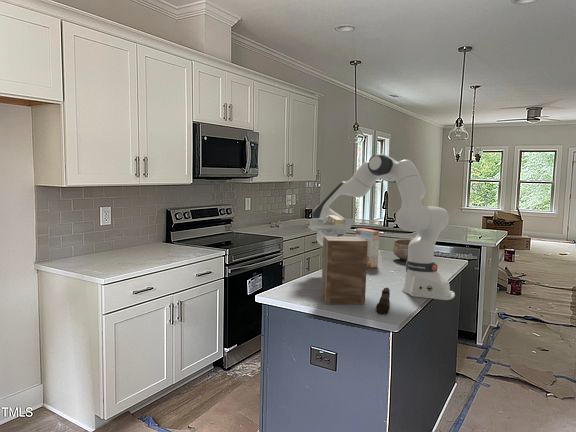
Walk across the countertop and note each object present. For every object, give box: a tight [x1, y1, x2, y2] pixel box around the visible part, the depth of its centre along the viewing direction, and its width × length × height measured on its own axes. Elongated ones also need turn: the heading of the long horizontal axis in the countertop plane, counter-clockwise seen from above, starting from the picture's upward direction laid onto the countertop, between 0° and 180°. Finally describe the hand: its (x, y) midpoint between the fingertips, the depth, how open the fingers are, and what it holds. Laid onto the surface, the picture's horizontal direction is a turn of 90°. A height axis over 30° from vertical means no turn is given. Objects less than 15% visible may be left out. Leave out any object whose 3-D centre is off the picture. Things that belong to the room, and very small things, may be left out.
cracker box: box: [355, 227, 380, 269], centre depth 255 cm, size 14×6×21 cm, turn 32°
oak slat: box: [328, 215, 343, 225], centre depth 204 cm, size 20×3×2 cm, turn 5°
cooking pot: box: [392, 238, 414, 262], centre depth 273 cm, size 25×19×12 cm
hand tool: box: [375, 287, 391, 315], centre depth 179 cm, size 23×5×6 cm, turn 161°
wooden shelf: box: [321, 235, 368, 305], centre depth 185 cm, size 12×16×26 cm
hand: (333, 218), depth 210 cm, fingers closed on oak slat, 3 cm apart
